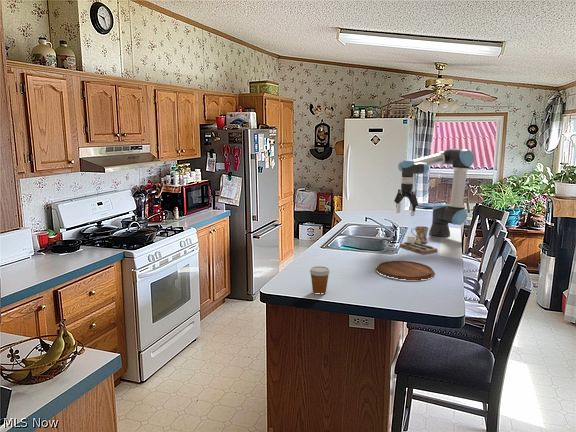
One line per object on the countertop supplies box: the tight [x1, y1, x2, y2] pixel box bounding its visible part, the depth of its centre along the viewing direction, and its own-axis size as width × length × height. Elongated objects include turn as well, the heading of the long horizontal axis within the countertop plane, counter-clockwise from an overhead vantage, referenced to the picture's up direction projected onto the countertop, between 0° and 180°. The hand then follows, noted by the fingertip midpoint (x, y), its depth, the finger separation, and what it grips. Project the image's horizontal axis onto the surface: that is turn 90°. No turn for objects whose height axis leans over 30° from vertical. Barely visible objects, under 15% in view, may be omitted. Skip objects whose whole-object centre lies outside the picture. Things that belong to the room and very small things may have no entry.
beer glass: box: [309, 265, 331, 294], centre depth 219 cm, size 10×10×12 cm
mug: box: [411, 225, 430, 244], centre depth 321 cm, size 12×9×11 cm
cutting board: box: [375, 260, 436, 280], centre depth 254 cm, size 32×32×2 cm
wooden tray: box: [399, 241, 438, 255], centre depth 302 cm, size 22×12×3 cm, turn 29°
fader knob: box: [406, 235, 416, 244], centre depth 308 cm, size 3×4×5 cm
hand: (405, 214), depth 309 cm, fingers open, 13 cm apart
